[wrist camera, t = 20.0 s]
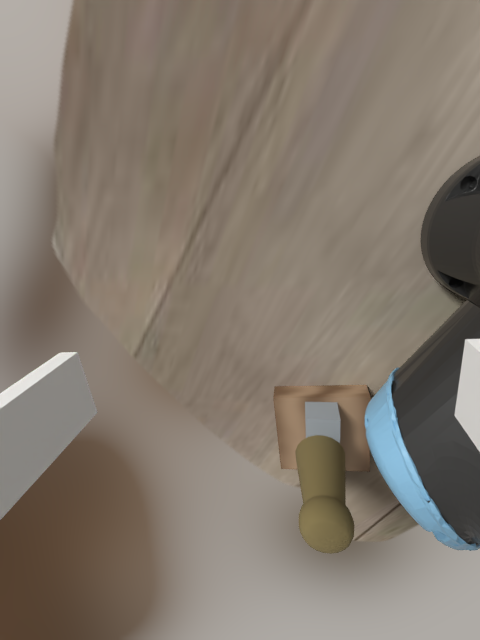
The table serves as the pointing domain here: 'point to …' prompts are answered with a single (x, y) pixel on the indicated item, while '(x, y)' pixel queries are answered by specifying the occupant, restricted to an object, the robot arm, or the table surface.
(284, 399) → the wooden flat board
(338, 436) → the slate-grey block
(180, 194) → the table surface
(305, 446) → the olive ball-ended rod
